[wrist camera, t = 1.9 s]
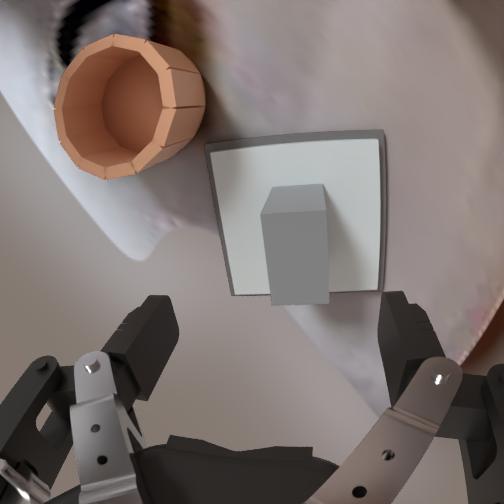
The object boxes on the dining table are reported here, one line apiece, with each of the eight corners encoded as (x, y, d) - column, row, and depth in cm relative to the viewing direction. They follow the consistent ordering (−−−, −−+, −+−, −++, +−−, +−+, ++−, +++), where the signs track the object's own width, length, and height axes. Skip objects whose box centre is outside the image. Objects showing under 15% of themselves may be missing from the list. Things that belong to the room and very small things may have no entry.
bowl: (196, 32, 16) (163, 15, 12) (214, 150, 20) (186, 165, 15) (94, 66, 18) (48, 65, 14) (112, 168, 21) (69, 188, 17)
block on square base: (376, 138, 17) (401, 152, 12) (376, 284, 21) (389, 336, 16) (212, 151, 19) (178, 169, 14) (236, 290, 24) (217, 340, 19)
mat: (382, 129, 17) (383, 130, 17) (381, 287, 22) (382, 290, 22) (206, 144, 20) (204, 145, 19) (232, 293, 24) (231, 295, 24)
